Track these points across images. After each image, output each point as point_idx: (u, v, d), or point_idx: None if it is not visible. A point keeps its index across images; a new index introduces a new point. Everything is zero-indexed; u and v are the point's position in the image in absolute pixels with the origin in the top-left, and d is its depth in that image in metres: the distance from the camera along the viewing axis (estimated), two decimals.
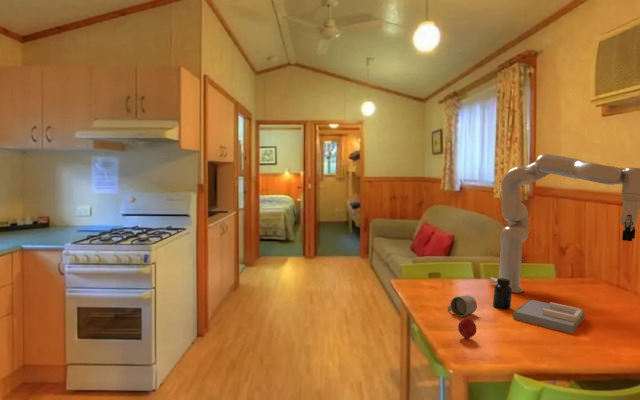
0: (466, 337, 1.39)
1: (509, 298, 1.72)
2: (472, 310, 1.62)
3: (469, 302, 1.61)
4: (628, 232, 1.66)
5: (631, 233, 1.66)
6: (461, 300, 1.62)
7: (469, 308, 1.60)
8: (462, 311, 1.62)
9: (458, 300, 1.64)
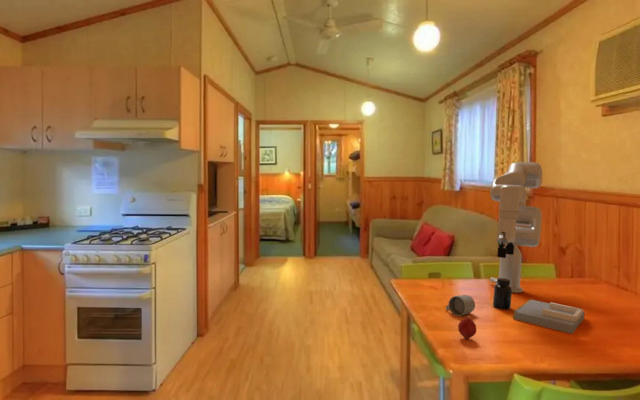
0: (466, 337, 1.39)
1: (509, 298, 1.72)
2: (470, 309, 1.62)
3: (467, 301, 1.61)
4: (502, 249, 1.68)
5: (505, 250, 1.68)
6: (459, 300, 1.63)
7: (467, 307, 1.61)
8: (460, 310, 1.63)
9: (456, 299, 1.64)
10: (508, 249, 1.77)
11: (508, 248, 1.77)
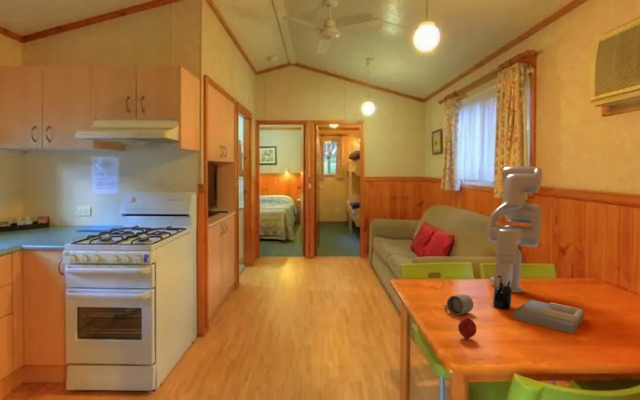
0: (466, 337, 1.39)
1: (509, 298, 1.72)
2: (468, 309, 1.63)
3: (465, 301, 1.62)
4: (499, 294, 1.71)
5: (502, 295, 1.71)
6: (458, 299, 1.64)
7: (465, 307, 1.61)
8: (458, 310, 1.63)
9: (454, 299, 1.65)
10: None
11: None
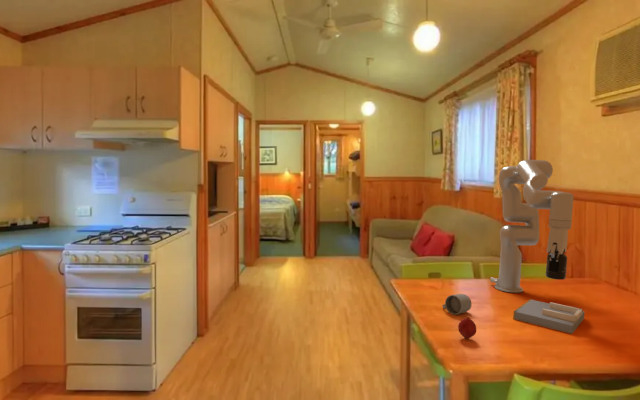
0: (466, 337, 1.39)
1: (565, 267, 1.58)
2: (466, 308, 1.64)
3: (463, 300, 1.63)
4: (554, 263, 1.57)
5: (557, 264, 1.57)
6: (456, 298, 1.64)
7: (463, 306, 1.62)
8: (456, 309, 1.64)
9: (453, 298, 1.65)
10: None
11: None
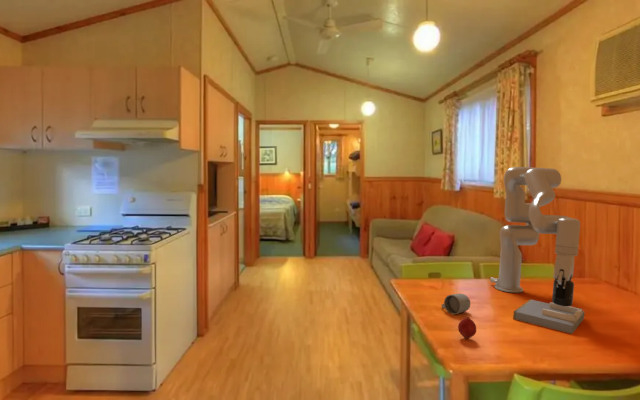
0: (466, 337, 1.39)
1: (571, 293, 1.56)
2: (465, 308, 1.64)
3: (462, 300, 1.63)
4: (561, 289, 1.56)
5: (564, 290, 1.56)
6: (455, 298, 1.65)
7: (462, 306, 1.62)
8: (455, 309, 1.64)
9: (452, 298, 1.66)
10: None
11: None
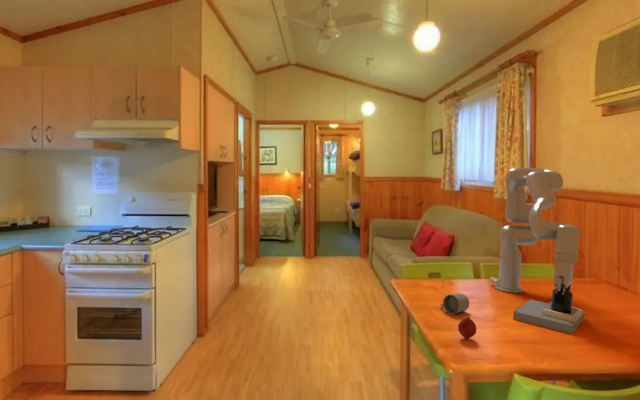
0: (466, 337, 1.39)
1: (570, 303, 1.57)
2: (464, 308, 1.64)
3: (461, 300, 1.63)
4: (560, 295, 1.55)
5: (563, 296, 1.55)
6: (454, 298, 1.65)
7: (461, 305, 1.62)
8: (454, 309, 1.65)
9: (450, 298, 1.66)
10: None
11: None
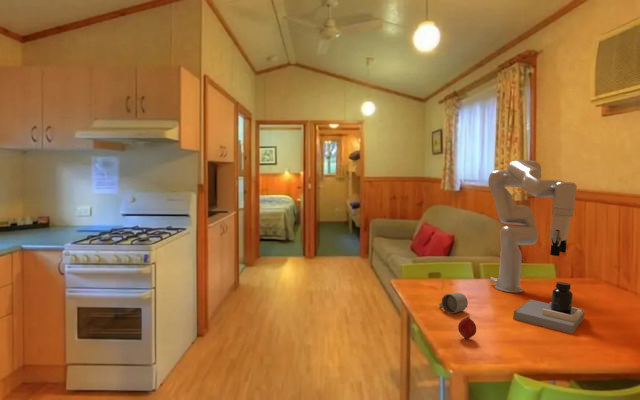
0: (466, 337, 1.39)
1: (570, 303, 1.57)
2: (463, 307, 1.65)
3: (460, 299, 1.64)
4: (555, 247, 1.65)
5: (558, 248, 1.65)
6: (452, 297, 1.66)
7: (459, 305, 1.63)
8: (453, 308, 1.65)
9: (449, 297, 1.67)
10: (560, 246, 1.73)
11: (560, 245, 1.73)
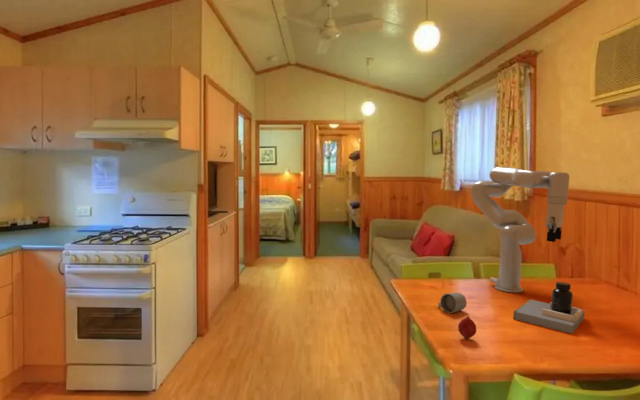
0: (466, 337, 1.39)
1: (570, 303, 1.57)
2: (461, 307, 1.65)
3: (458, 299, 1.64)
4: (551, 233, 1.75)
5: (554, 234, 1.75)
6: (451, 297, 1.66)
7: (458, 304, 1.63)
8: (451, 308, 1.66)
9: (448, 297, 1.67)
10: (555, 234, 1.83)
11: (555, 233, 1.83)
